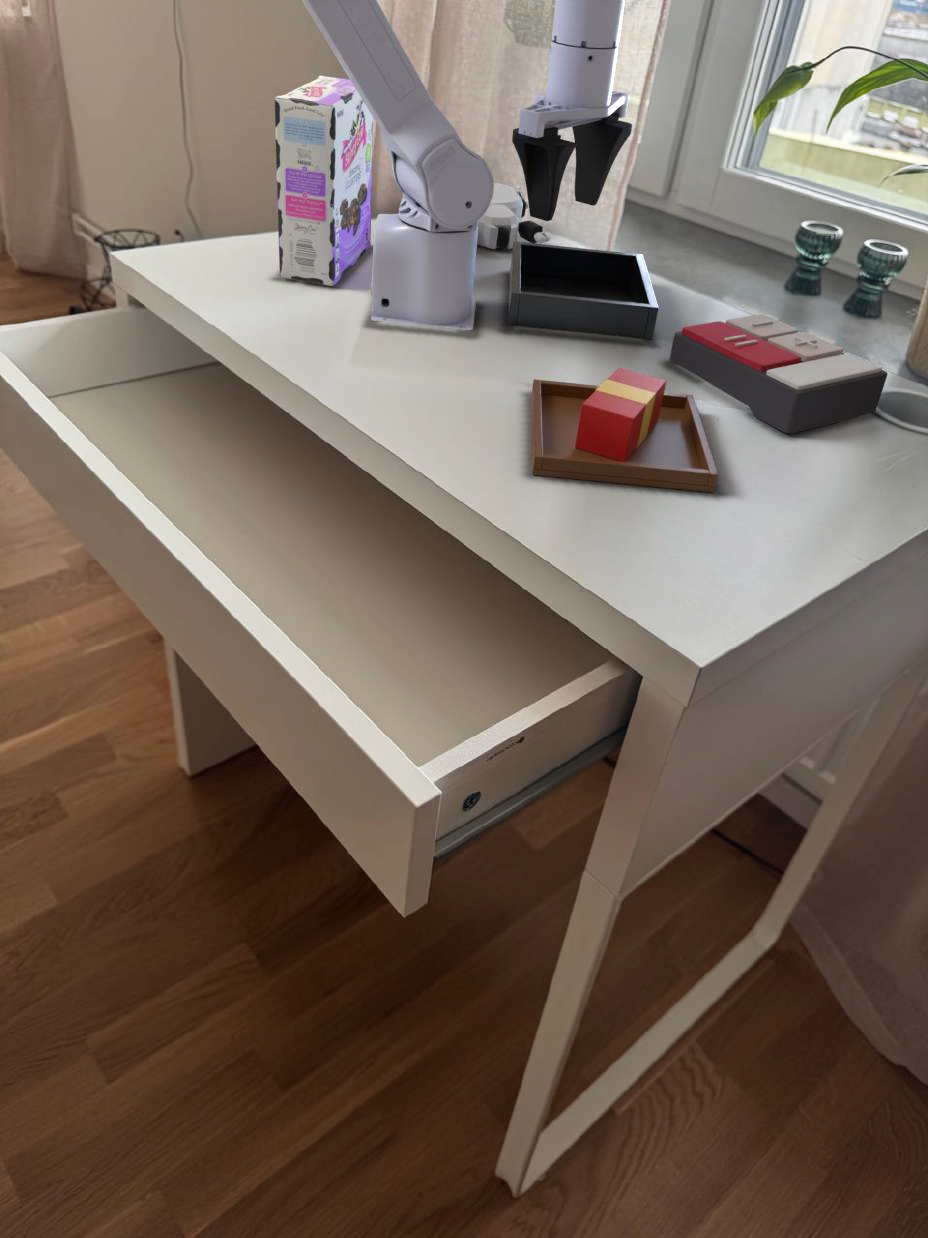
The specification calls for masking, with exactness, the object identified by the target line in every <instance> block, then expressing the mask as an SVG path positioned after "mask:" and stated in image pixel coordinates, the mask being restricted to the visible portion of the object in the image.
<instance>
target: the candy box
mask: <svg viewBox="0 0 928 1238" xmlns="http://www.w3.org/2000/svg"><path fill="white" fill-rule="evenodd" d="M274 122H275V124H274V125H275V127H274V128H275V131H274V132H275V163H276V164H275V165H276V167H275V168H276V190H277V191H276V198H277V220H278V221H277V230H278V261H279V262H278V263H279V264H278V265H279V267H278V268H279V278H282V279H289V280H294V281H299V282H305V283H306V282H307V283H312V284H318V285H323V286H328V287H333V286H336V284H337V283H338V282H339V281H340V280H341V278H342V277H344V276H345V274H347V272H348V271H349V270H350V269H351V268H352V267H354V265H355V264H356V263H357V262H358V261H359V260H360V259H361V257H362V256H363V255H365V254H366V252H367V251H368V250H369V249H370V248H371V247H372V246H371V245H372V244H371V238H372V237H371V236H372V235H371V234H372V184H373V183H372V182H373V179H372V178H373V172H372V171H373V129H374V127H373V126H374V124H373V123H374V118H373V116H372V114H371V113H370V111H369V110H368V108H367V106H366V105H365V103H364V101H363V100H362V98H361V97H360V95H359V93H358V92H357V90H356V88H355V87H354V85H353V84H352V82H351V80H350V79H349V78H343V77H342V78H341V77H334V76H325V75H318V76H317V78H316V79H315V80H312V81H310V82H307V83H306V84H305V83H304V84H303V85H300V86H299V87H296V88H295V89H293V90H290V91H288V92H286V93H284V94H282V95H277V96H275V97H274Z"/></svg>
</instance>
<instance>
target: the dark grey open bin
mask: <svg viewBox="0 0 928 1238" xmlns="http://www.w3.org/2000/svg"><path fill="white" fill-rule="evenodd" d="M511 249H512V250H511V259H510V266H509V267H510V268H509V289H508V291H509V293H508V313H507V314H508V315H507V316H508V319H507V324H508V326H512V327H523V328H532V329H544V330H551V331H552V330H553V331H564V332H573V333H582V334H591V335H592V334H593V335H602V336H612V337H620V338H621V337H622V338H631V339H632V338H633V339H641V340H652V341H653V337H654V332H655V328H656V323H657V318H658V314H659V309H660V308H659V305H658V302H657V298H656V294H655V291H654V288H653V284H652V281H651V278H650V274H649V272H648V268H647V265H646V261H645V258H644V255H643V254H642V253H633V252H624V251H623V252H622V251H613V250H612V251H611V250H603V249H602V250H601V249H594V248H584V247H583V248H582V247H574V246H573V247H572V246H563V245H553V244H545V243H531V242H525V241H524V242H523V241H516V242H515V241H513V248H511Z"/></svg>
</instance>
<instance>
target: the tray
mask: <svg viewBox="0 0 928 1238" xmlns="http://www.w3.org/2000/svg"><path fill="white" fill-rule="evenodd" d="M599 386H600V385H595V384H585V383H576V382H567V381H566V382H564V381H555V380H543V379H533V381H532V388H531V394H530V395H531V396H530V397H531V399H530V400H531V401H530V403H531V405H530V406H531V407H530V409H531V474H532V475H533V476H541V477H553V478H561V479H573V480H581V481H582V480H584V481H593V482H603V483H613V484H622V485H632V486H643V487H651V488H652V487H654V488H661V489H663V488H664V489H674V490H683V491H695V492H703V493H705V492H706V493H714V491H715V488H716V484H717V482H718V478H719V472H718V470H717V466H716V464H715V460H714V458H713V453H712V451H711V448H710V444H709V442H708V438H707V435H706V432H705V429H704V425H703V421H702V418H701V416H700V412H699V409H698V407H697V403H696V400H695V397H694V395H693V394H686V393H684V394H683V393H674V392H665V391H664V395H663V400H662V404H661V408H660V413H659V417H658V422H657V423H656V424H655V426H654V427H653V428H652V429H651V431H650V432H649V433H648V434H647V436H646V437H645V439H644V440H643V441H642V442H641V444H640V445H639V446H638V447H637V448H636V449H635V450H634V451H633V453H632V454H631V455H630V456H629V458H628V459H627V460H626V461H625V462H621V461H617V460H614V459H611V458H607V457H604V456H601V455H598V454H594V453H591V452H588V451H584V450H581V449H578V448H575V443H576V437H577V431H578V425H579V420H580V414H581V408H582V404H583V403H584V402H585V401H586V400H587V399H588V398H589V397H590V396H591V395H592V394H593V393H594V392H595V390H596V389H597V388H598V387H599Z"/></svg>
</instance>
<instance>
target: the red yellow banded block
mask: <svg viewBox="0 0 928 1238" xmlns="http://www.w3.org/2000/svg"><path fill="white" fill-rule="evenodd" d="M667 381H668V380H667V379H666V380H665V379H662V378H658V377H655V376H652V375H648V374H644V373H640V372H637V371H634V370H629V369H625V368H622V367H618V368H617V369H615V371H614V372H612V374H611V375H610V376H608V377H607V378H606V379H605V380H604V381H603V382H602V383H601V384H600V385H598V386H599V387H598V388H597V389H596V390H595V392H594V393H593V394H592V395H591V396H590V397H589V398H588V399H587V400H586V401H585V402H584V403H583V404H582V408H581V414H580V420H579V425H578V431H577V437H576V443H575V448H578V449H581V450H584V451H588V452H591V453H594V454H598V455H601V456H604V457H607V458H611V459H614V460H617V461H621V462H625V461H626V460H627V459H628V458H629V456H630V455H631V454H632V453H633V451H634V450H635V449H636V448H637V447H638V446H639V445H640V444H641V442H642V441H643V440H644V439H645V437H646V436H647V434H648V433H649V432H650V431H651V429H652V428H653V427H654V426H655V424H656V423H657V422H658V417H659V413H660V408H661V404H662V400H663V395H664V392H665V390H666V386H667Z"/></svg>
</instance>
